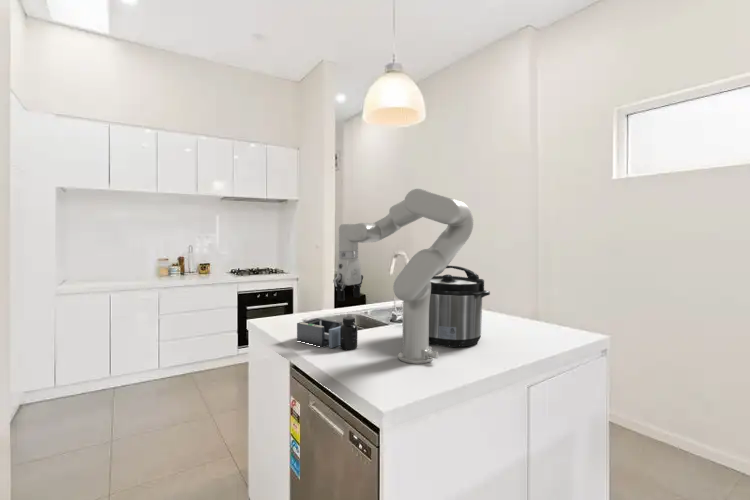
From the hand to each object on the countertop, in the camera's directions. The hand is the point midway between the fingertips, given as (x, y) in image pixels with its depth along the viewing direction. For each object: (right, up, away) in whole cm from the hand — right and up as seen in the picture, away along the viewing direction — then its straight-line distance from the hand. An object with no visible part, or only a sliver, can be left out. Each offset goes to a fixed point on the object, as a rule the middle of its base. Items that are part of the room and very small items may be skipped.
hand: (349, 299), depth 153 cm
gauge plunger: (-10, -19, +6) cm, 22 cm away
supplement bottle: (0, -20, +1) cm, 20 cm away
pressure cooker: (+42, -19, +14) cm, 48 cm away
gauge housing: (-13, -19, +10) cm, 25 cm away
